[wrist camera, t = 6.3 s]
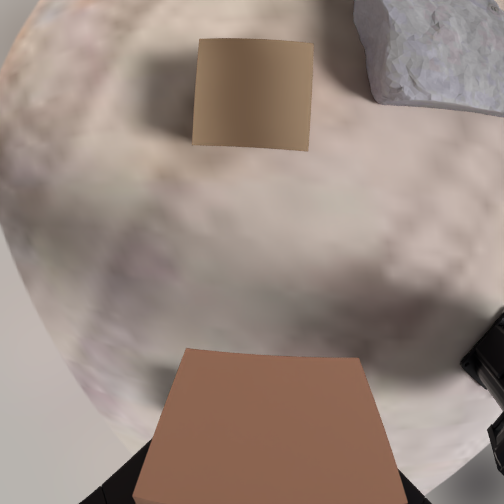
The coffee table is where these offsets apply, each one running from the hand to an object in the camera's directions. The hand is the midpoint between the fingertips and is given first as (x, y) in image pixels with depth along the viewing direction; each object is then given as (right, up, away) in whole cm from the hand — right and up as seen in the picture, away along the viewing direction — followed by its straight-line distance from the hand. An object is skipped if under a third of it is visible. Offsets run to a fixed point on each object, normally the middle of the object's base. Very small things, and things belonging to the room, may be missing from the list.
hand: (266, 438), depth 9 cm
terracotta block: (0, 0, +1) cm, 1 cm away
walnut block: (0, +14, +9) cm, 16 cm away
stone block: (+12, +19, +7) cm, 24 cm away
